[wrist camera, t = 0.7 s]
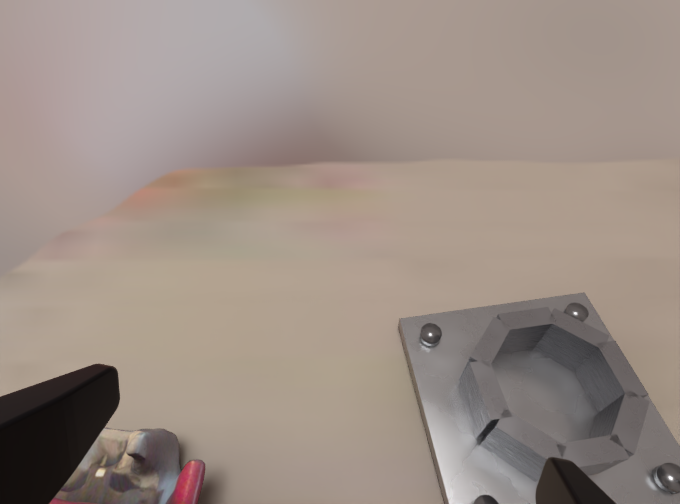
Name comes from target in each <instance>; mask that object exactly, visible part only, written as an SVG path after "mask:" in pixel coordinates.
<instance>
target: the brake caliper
mask: <svg viewBox="0 0 680 504" xmlns="http://www.w3.org/2000/svg"><path fill="white" fill-rule="evenodd" d="M204 474H205V463H204V462H203V461H202V460H192V461H189V462H188V463H187V464H186V465H185V467H184V468H183V470H182V471H181V469H180V465H179V443H178V440H177V437H176V435H175V434H173V433H172V432H169V431H167V430H165V429H140V430H137V431H124V430H116V429H110V428H105V427H104V429H103V430H102V432H101V433H100V435H99V436H98V438H97V439H96V441H95V442H94V444H93V445H92V447H91V448H90V450H89V451H88V453H87V454H86V456H85V457H84V459H83V460H82V462H81V463H80V464H79V466H78V467H77V469H76V470H75V471H74V473H73V474H72V476H71V477H70V478H69V479H68V481H67V482H66V483H65V485H64V486H63V487H62V488H61V490H60V491H59V492H58V493H57V495H56V496H55V497H54V498H53V500H52V501H51V502H50V503H49V504H198V499H199V495H200V492H201V488H202V485H203V480H204Z"/></svg>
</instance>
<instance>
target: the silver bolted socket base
mask: <svg viewBox="0 0 680 504" xmlns="http://www.w3.org/2000/svg"><path fill="white" fill-rule="evenodd" d="M398 328H399V332H400V336H401V340H402V343H403V347H404V351H405V355H406V359H407V362H408V366H409V370H410V374H411V378H412V381H413V385H414V389H415V393H416V397H417V401H418V404H419V408H420V412H421V416H422V420H423V423H424V427H425V431H426V435H427V439H428V442H429V446H430V450H431V454H432V458H433V461H434V465H435V469H436V473H437V477H438V481H439V484H440V488H441V492H442V496H443V500H444V503H445V504H536V499H535V494H536V488H537V484H538V482H539V479H540V476H541V473H542V470H543V467H544V464H545V462H546V460H547V459H548V458H549V457H557V458H561V459H566V460H570V461H572V462H574V463H575V464H576V465H577V466H578V467H579V468H580V469H581V470H582V471H583V472H584V473H585V474H586V475H587V476H588V477H589V478H590V479H591V480H593V481H594V482H595V483H596V484H597V485H598V486H599V487H600V488H601V489H602V490H603V491H604V492H605V493H606V494H607V495H608V496H609V497H610V498H611V499H612V500H613V501H614V502H615V503H616V504H680V446H679V445H678V443H677V441H676V440H675V438H674V437H673V435H672V433H671V432H670V430H669V428H668V427H667V425H666V424H665V422H664V420H663V419H662V417H661V416H660V414H659V412H658V411H657V409H656V407H655V406H654V404H653V403H652V401H651V399H650V398H649V396H648V393H647V391H646V390H645V388H644V386H643V385H642V383H641V382H640V380H639V378H638V377H637V375H636V374H635V372H634V370H633V369H632V367H631V365H630V364H629V362H628V361H627V359H626V357H625V356H624V354H623V353H622V351H621V349H620V348H619V346H618V344H617V343H616V341H614V339H613V338H612V336H611V335H610V333H609V331H608V330H607V328H606V326H605V325H604V323H603V322H602V320H601V318H600V317H599V315H598V314H597V312H596V310H595V309H594V307H593V305H592V304H591V302H590V301H589V299H588V297H587V296H586V294H585V293H578V294H571V295H563V296H556V297H549V298H542V299H535V300H528V301H521V302H514V303H507V304H500V305H493V306H486V307H479V308H472V309H464V310H457V311H450V312H443V313H436V314H429V315H422V316H415V317H408V318H401V319H399V324H398Z"/></svg>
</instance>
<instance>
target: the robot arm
mask: <svg viewBox="0 0 680 504" xmlns="http://www.w3.org/2000/svg"><path fill="white" fill-rule="evenodd" d="M119 400H120V393H119V380H118V371H117V369H116V368H115V367H113V366H109V365H104V364H94V365H91V366H88V367H85V368H82V369H79V370H76V371H74V372H71V373H68V374H65V375H62V376H59V377H56V378H53V379H50V380H47V381H45V382H42V383H39V384H36V385H33V386H30V387H27V388H24V389H21V390H19V391H16V392H13V393H10V394H7V395H4V396H1V397H0V504H49V503H50V502H51V501H52V500H53V498H54V497H55V496H56V495H57V493H58V492H59V491H60V490H61V488H62V487H63V486H64V485H65V483H66V482H67V481H68V479H69V478H70V477H71V476H72V474H73V473H74V471H75V470H76V469H77V467H78V466H79V464H80V463H81V462H82V460H83V459H84V457H85V456H86V454H87V453H88V451H89V450H90V448H91V447H92V445H93V444H94V442H95V441H96V439H97V438H98V436H99V435H100V433H101V432H102V430H103V429H104V427H105V426H106V424H107V423H108V421H109V420H110V418H111V417H112V415H113V414H114V412H115V411H116V409H117V407H118V404H119ZM535 499H536V504H616V503H615V502H614V501H613V500H612V499H611V498H610V497H609V496H608V495H607V494H606V493H605V492H604V491H603V490H602V489H601V488H600V487H599V486H598V485H597V484H596V483H595V482H594V481H593V480H591V479H590V478H589V477H588V476H587V475H586V474H585V473H584V472H583V471H582V470H581V469H580V468H579V467H578V466H577V465H576V464H575V463H574V462H572V461H570V460H566V459H561V458H557V457H549V458H548V459H547V460H546V462H545V464H544V467H543V470H542V473H541V476H540V479H539V482H538V484H537V488H536V494H535Z"/></svg>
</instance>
